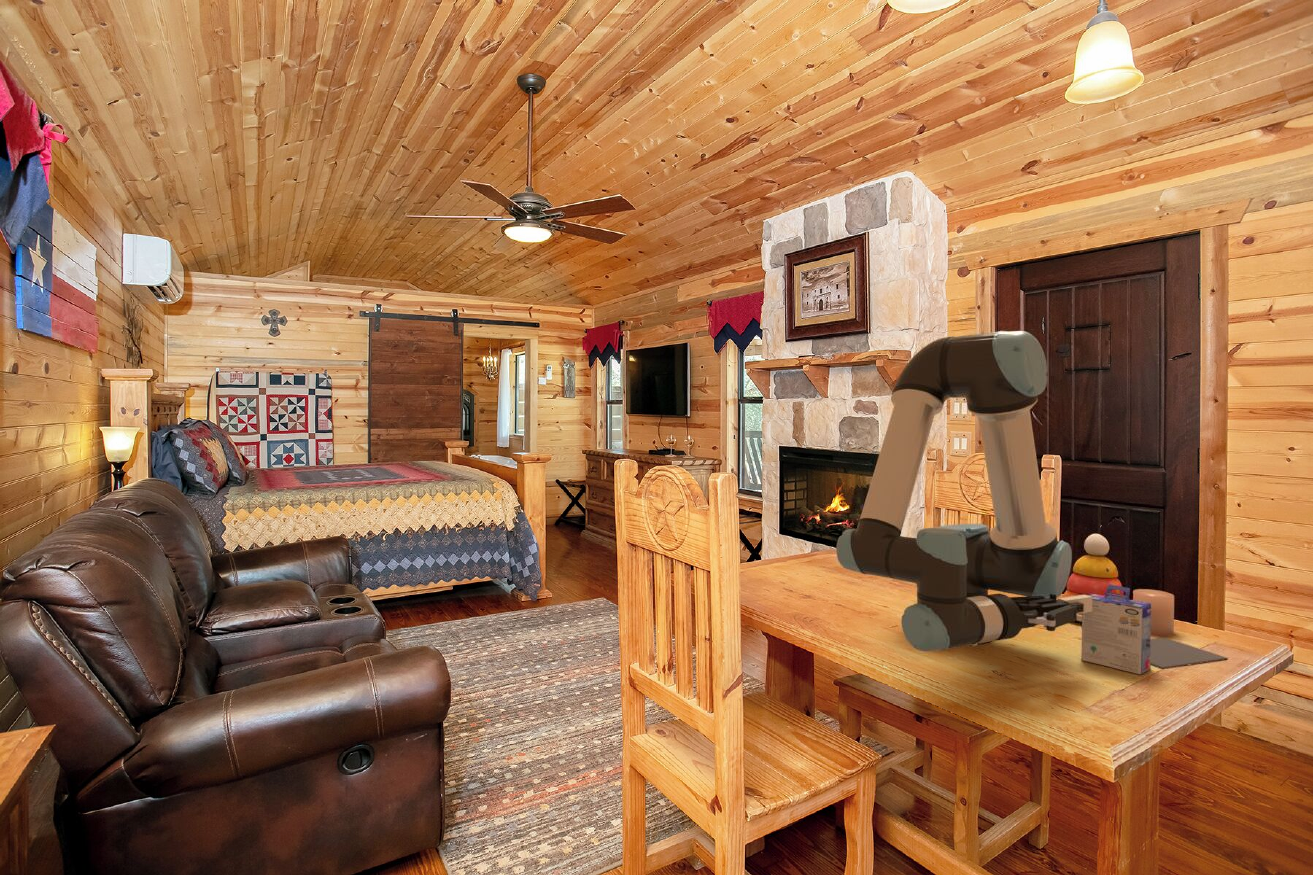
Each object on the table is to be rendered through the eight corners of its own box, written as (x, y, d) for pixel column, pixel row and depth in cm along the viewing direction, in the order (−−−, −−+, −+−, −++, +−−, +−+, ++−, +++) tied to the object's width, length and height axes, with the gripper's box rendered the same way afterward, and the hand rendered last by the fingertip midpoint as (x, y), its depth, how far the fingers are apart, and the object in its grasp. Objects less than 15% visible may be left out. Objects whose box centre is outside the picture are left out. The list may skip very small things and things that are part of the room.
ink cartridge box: (1152, 668, 121) (1153, 590, 120) (1143, 676, 117) (1144, 595, 117) (1090, 653, 128) (1091, 580, 128) (1080, 660, 125) (1081, 585, 124)
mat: (1102, 646, 132) (1102, 645, 132) (1164, 638, 136) (1164, 637, 136) (1162, 668, 121) (1162, 667, 121) (1227, 659, 125) (1227, 657, 125)
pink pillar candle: (1124, 626, 144) (1125, 590, 144) (1149, 623, 146) (1150, 588, 146) (1156, 637, 137) (1156, 599, 137) (1182, 633, 139) (1182, 596, 139)
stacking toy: (1098, 632, 141) (1099, 541, 140) (1042, 613, 154) (1042, 530, 154) (1148, 625, 145) (1149, 537, 144) (1090, 607, 158) (1090, 527, 158)
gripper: (958, 628, 118) (1055, 613, 126) (1020, 652, 106) (1124, 634, 114) (958, 586, 118) (1056, 574, 126) (1020, 606, 106) (1124, 591, 113)
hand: (1088, 602), depth 120 cm, fingers closed
